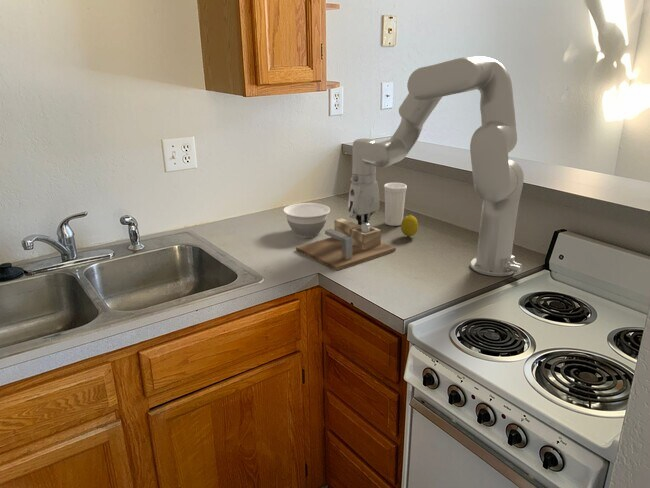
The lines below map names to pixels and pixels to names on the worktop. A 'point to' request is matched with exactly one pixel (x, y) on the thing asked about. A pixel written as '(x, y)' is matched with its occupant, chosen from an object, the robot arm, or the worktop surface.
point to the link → (358, 234)
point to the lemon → (409, 225)
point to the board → (332, 253)
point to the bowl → (306, 218)
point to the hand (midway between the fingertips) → (362, 232)
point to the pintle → (365, 227)
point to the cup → (394, 203)
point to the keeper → (345, 242)
